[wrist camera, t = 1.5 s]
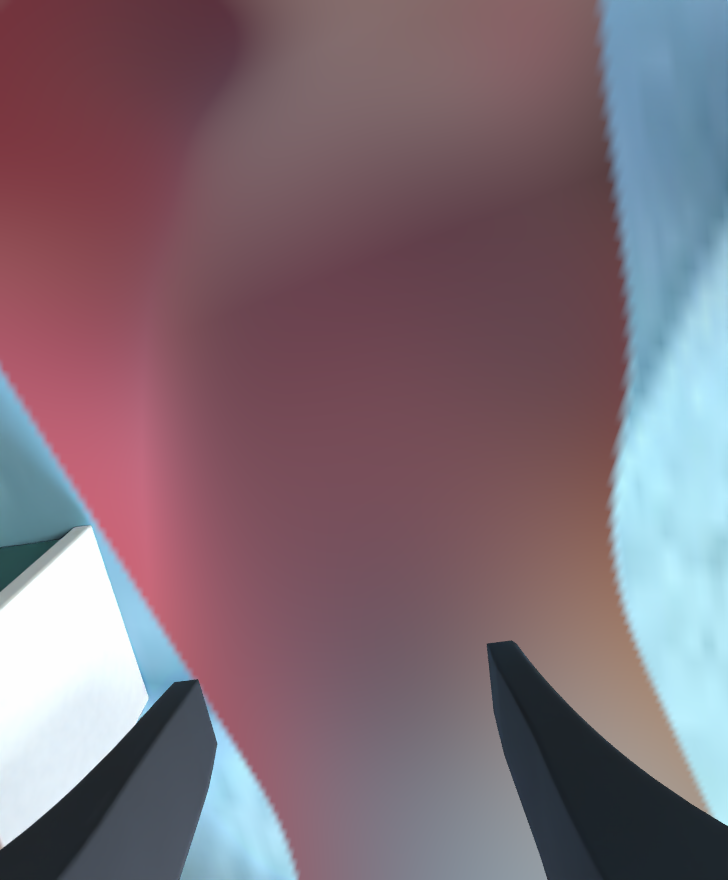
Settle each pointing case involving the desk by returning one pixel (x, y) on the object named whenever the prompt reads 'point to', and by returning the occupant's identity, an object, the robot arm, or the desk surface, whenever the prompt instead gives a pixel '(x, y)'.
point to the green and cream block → (59, 674)
